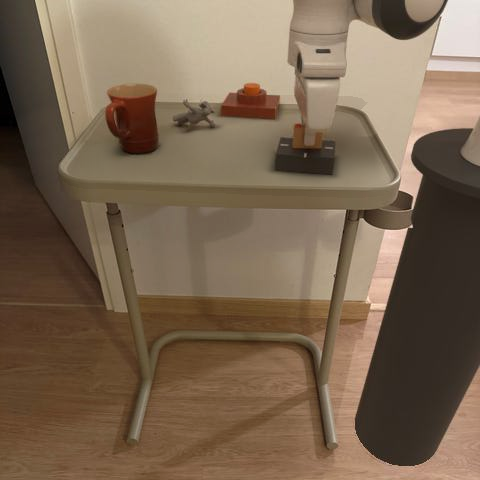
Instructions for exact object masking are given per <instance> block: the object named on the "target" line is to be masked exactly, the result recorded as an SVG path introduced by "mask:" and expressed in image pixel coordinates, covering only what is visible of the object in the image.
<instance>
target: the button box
mask: <svg viewBox="0 0 480 480" xmlns="http://www.w3.org/2000/svg"><path fill="white" fill-rule="evenodd" d="M280 105H281V95H280V94H267V90H266V89H264V88H260V93H259V94H245V93H244V87H243V88H239V89H237V91H236V92H228V94H227V96H226V97H225V98H224V100H223V102H222V103H221V104H220V113H221V114H220V115H221V117H236V118H248V119H249V118H250V119H265V120H266V119H267V120H276V116H277V114H278V111H279V108H280Z"/></svg>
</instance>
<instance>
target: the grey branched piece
mask: <svg viewBox="0 0 480 480" xmlns="http://www.w3.org/2000/svg"><path fill="white" fill-rule="evenodd" d="M182 103H183V106H184V107H185V108H188V111H187V112H181V113H177V114H172V120H173V122H177V125H178V126H182V125H185V124H189V126H188V127H187V129H186V132H188V131H189V130H190V128H191V127H192V126H196V125H198V124H200V123H201V122H203V121H205V122H207V123H208V124H209V125H210V126H211V127H212V128H216V126H217V124H216V123H215V122H214V119H210V118H208V116H209V115H211V114H216V112H215V110H214V109H213V108H212V107H211V104H210V103H209V102H208V100H204V101H203V97H201V99H200V101H199V104H198V106H199V107H200V108H197V107H194V106H191V105H190V104H189V102H188V99H187V98H186V99H183V101H182Z"/></svg>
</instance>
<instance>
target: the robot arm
mask: <svg viewBox="0 0 480 480" xmlns="http://www.w3.org/2000/svg"><path fill="white" fill-rule="evenodd" d="M448 2H449V0H292V4H293V8H292V9H293V11H292V17H291V20H290V23H289V29H288V30H289V32H288V46H287V60H286V61H287V64H288V65H290V66H292V67H293V68H294V72H293V73H294V76H295V77H294V85H293V86H294V87H293V88H294V90H293V93H294V98H295V101H296V104H297V106H298V109H299V112H300V120H301V125H305V132H304V138H303V141H304V144H305V145H306V146H313V145H314V143H315V136H316V133H323V134H326V133H329V132H330V131H331V129H332V126H333V123H334V119H335V113H336V109H337V106H338V104H337V103H338V99H339V94H340V88H341V78H344V77H346V72H347V65H348V62H347V61H348V60H347V55H346V54H347V44H348V36H349V29H350V24H351V22H352V21H360V22H362V23H365V24H366V25H368V26H370V27H373V28H376V29H379V30H380V31H381V32H383V33H385V34H386V35H388V36H390V37H391V38H393V39H395V40H398V41H410V40H412V39H415V38H418V37H420V36H421V35H423V34H424V33H426V32H427V31H428V30H430V28H431V27H432V26H433V25H434V24H435V23H436V22H437V21H438V20H439V18H440V17H441V15H442V14H443V12H444V11H445V8H446V7H447V4H448ZM473 128H474V129H473V131H472V133H471V134H470V136H469V138H468V140H467V141H466V143H465V144H464V146H463V147H462V149H461V151H460V153H461V155H462V156H463V157H464V158H465V159H466V160H467V161H469V162H471V163H473V164H475V165H477V166H480V115H479V116H478V118H477V121H476V122H475V125H474V127H473Z"/></svg>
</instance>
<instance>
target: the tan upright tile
mask: <svg viewBox="0 0 480 480" xmlns="http://www.w3.org/2000/svg"><path fill="white" fill-rule="evenodd" d="M292 128H293V129H292V130H293V131H292V138H293V141H292V146H293V148H315V149H321V147H322V140H324V139H323V138H324V133H316V136H315V143H314V145H313V146H306V145H305V144H304V141H303V138H304V132H305V125H302V123H294V124H293V127H292Z"/></svg>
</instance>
